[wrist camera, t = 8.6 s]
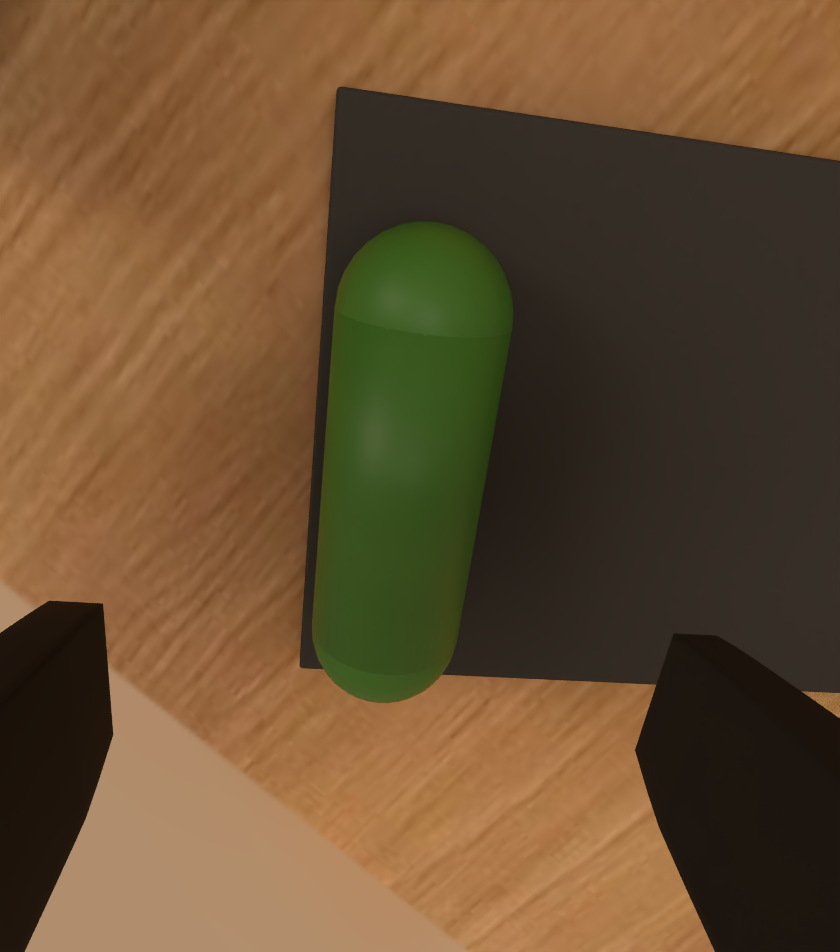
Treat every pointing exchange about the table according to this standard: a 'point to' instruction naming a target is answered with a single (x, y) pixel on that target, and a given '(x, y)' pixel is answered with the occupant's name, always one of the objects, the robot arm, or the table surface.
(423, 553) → the cucumber
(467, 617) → the mat
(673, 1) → the table surface
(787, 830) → the robot arm
